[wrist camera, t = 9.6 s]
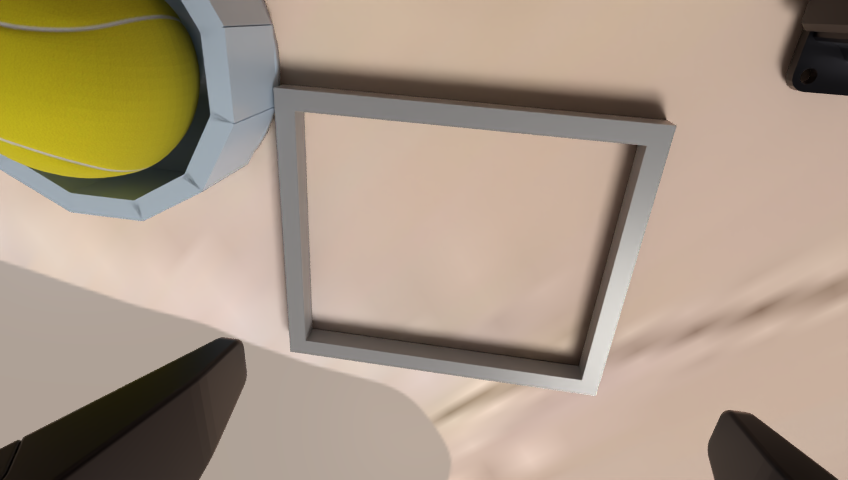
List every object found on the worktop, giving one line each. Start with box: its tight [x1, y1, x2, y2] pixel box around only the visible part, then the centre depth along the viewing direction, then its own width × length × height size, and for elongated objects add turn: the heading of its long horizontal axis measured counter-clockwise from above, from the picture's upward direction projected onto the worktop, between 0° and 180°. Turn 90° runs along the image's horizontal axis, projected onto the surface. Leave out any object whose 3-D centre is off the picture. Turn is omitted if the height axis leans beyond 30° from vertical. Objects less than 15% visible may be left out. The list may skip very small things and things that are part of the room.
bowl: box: [0, 0, 280, 221], centre depth 17 cm, size 11×11×4 cm
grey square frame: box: [273, 84, 676, 396], centre depth 21 cm, size 15×13×1 cm
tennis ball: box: [0, 0, 200, 178], centre depth 16 cm, size 7×7×7 cm
